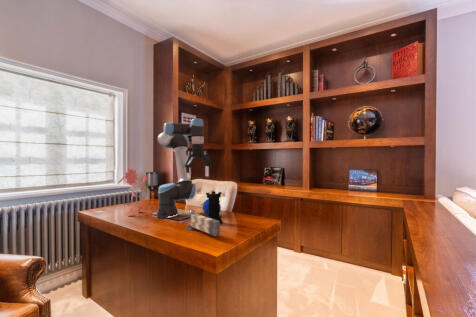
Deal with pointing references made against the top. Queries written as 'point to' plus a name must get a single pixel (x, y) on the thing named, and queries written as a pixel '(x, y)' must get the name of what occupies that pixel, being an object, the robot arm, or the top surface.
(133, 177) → the figurine
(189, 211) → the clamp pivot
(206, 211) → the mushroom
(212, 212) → the chess piece
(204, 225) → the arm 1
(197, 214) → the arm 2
